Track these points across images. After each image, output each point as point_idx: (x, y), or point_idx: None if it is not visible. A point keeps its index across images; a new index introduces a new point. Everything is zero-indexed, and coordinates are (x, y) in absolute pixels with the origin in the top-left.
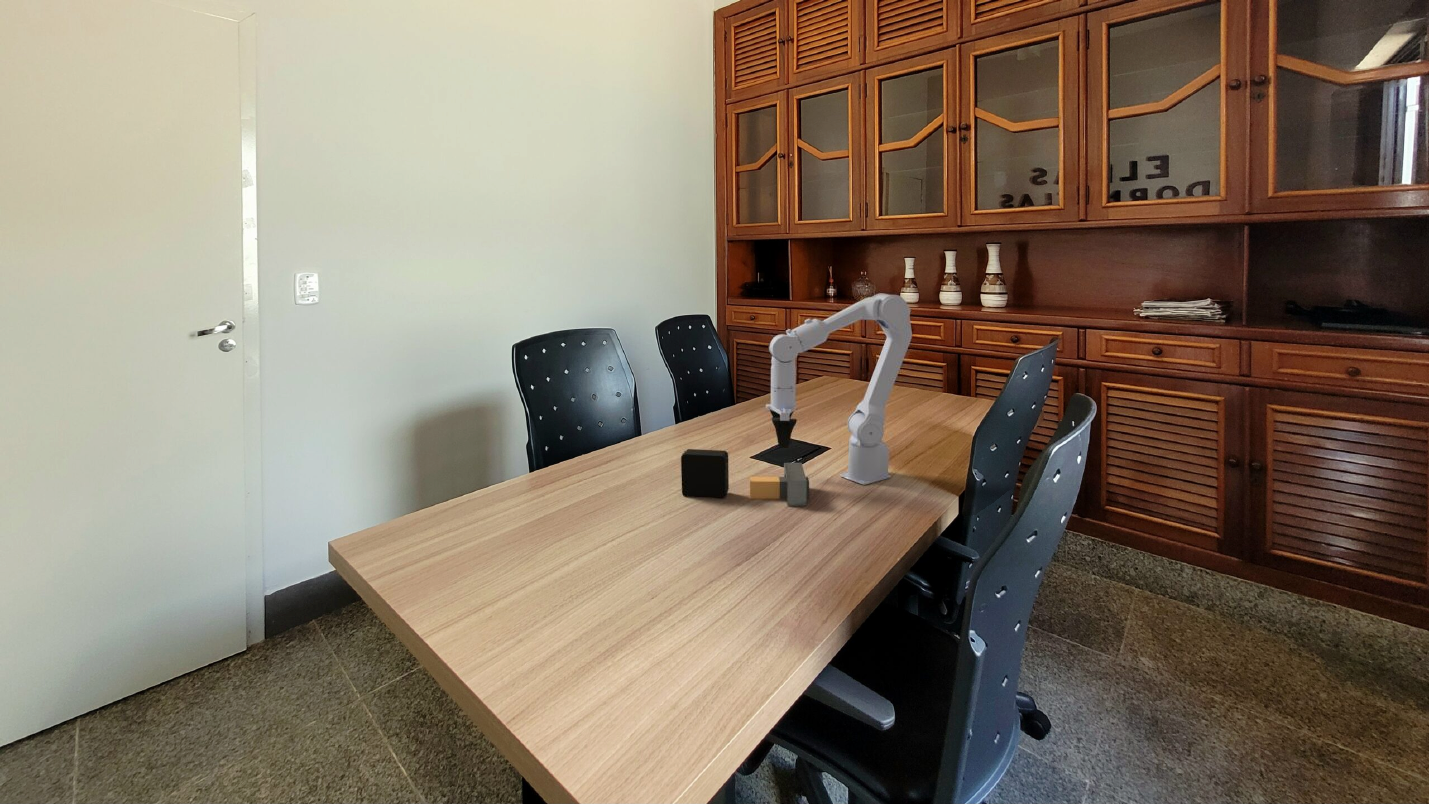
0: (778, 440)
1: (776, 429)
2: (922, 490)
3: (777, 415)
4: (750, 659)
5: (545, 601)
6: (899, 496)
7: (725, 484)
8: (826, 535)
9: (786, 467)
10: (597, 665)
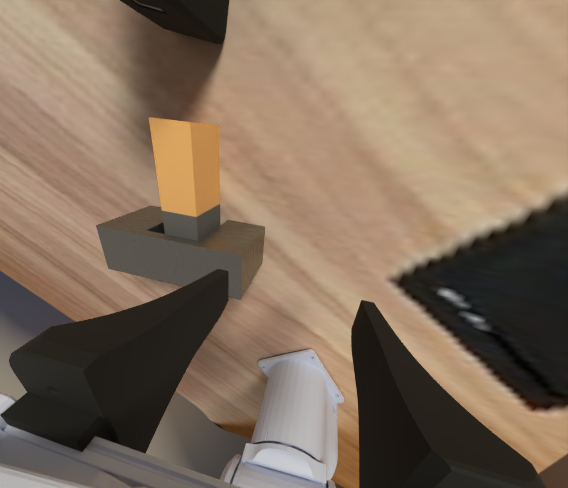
0: (192, 283)
1: (121, 314)
2: (236, 407)
3: (394, 441)
4: None
5: None
6: (213, 376)
7: (136, 10)
8: (53, 236)
9: (199, 250)
10: None
